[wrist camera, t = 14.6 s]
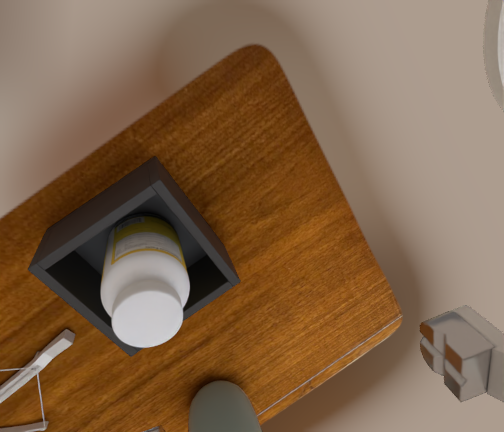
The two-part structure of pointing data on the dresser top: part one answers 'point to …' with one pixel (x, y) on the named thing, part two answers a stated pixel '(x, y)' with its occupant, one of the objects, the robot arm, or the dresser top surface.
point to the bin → (96, 235)
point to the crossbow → (31, 370)
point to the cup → (222, 410)
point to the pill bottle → (144, 280)
